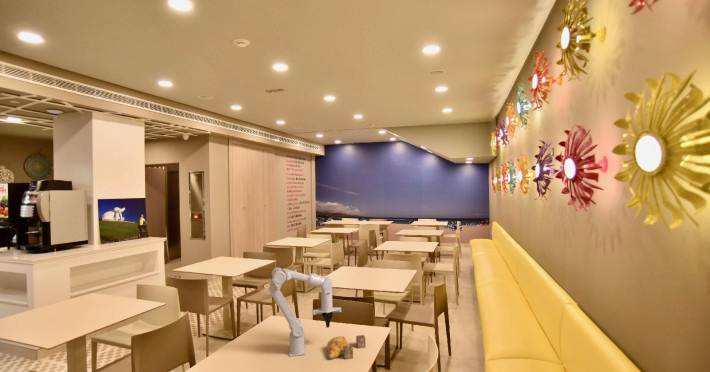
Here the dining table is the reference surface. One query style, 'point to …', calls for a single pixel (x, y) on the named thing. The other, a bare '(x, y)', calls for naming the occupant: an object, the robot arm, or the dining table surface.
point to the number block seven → (360, 341)
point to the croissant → (336, 346)
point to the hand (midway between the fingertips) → (327, 326)
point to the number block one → (348, 352)
